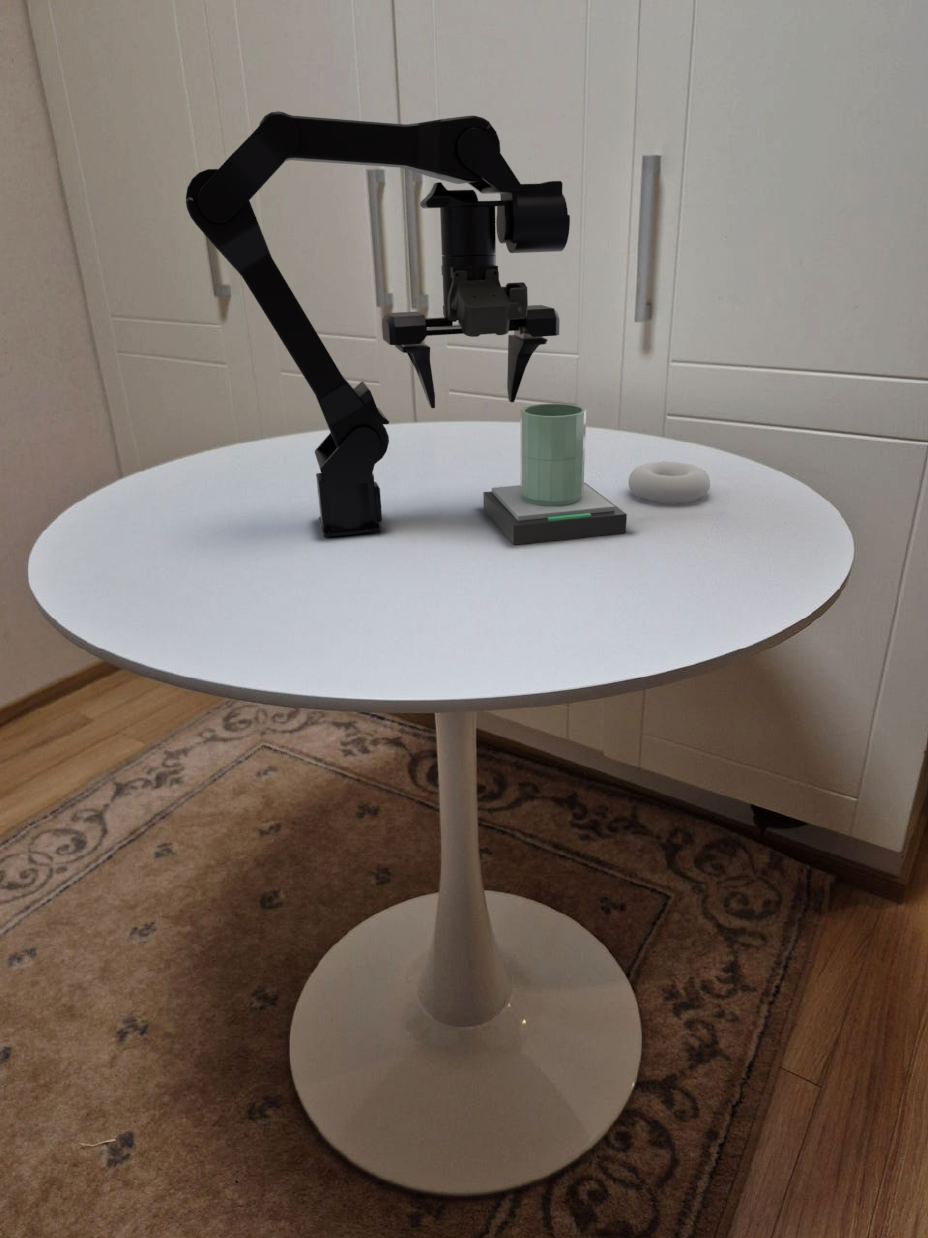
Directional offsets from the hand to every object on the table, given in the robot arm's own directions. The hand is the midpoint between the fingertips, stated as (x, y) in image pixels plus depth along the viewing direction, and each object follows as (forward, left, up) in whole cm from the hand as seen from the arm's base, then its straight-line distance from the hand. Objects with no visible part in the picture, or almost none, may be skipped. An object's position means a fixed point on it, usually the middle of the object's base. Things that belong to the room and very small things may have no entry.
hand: (472, 404), depth 97 cm
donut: (+25, 0, -13) cm, 28 cm away
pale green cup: (+8, -5, -10) cm, 14 cm away
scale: (+8, -5, -13) cm, 16 cm away
